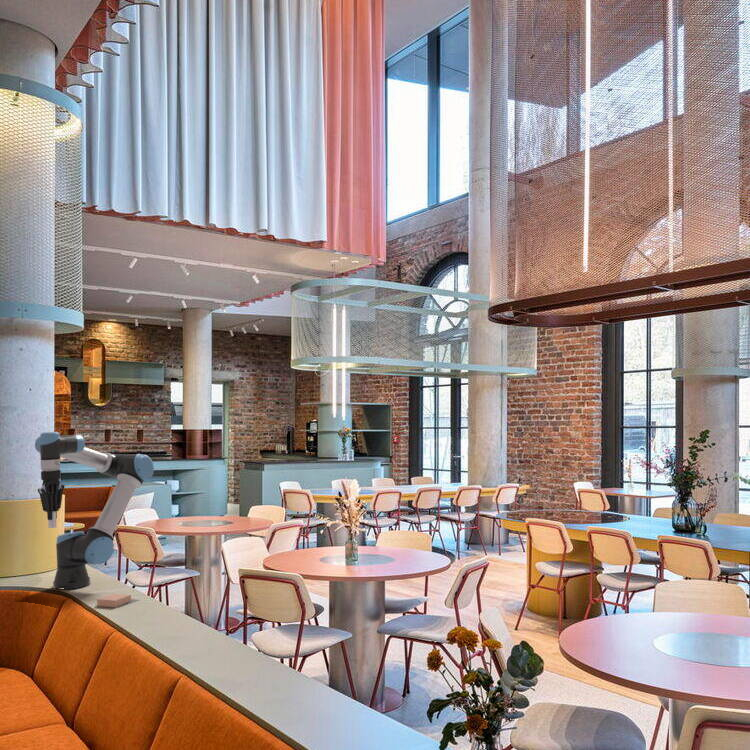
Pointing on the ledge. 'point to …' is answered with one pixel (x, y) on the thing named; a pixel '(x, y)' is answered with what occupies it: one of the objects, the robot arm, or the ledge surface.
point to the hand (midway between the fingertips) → (52, 527)
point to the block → (114, 600)
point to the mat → (127, 603)
